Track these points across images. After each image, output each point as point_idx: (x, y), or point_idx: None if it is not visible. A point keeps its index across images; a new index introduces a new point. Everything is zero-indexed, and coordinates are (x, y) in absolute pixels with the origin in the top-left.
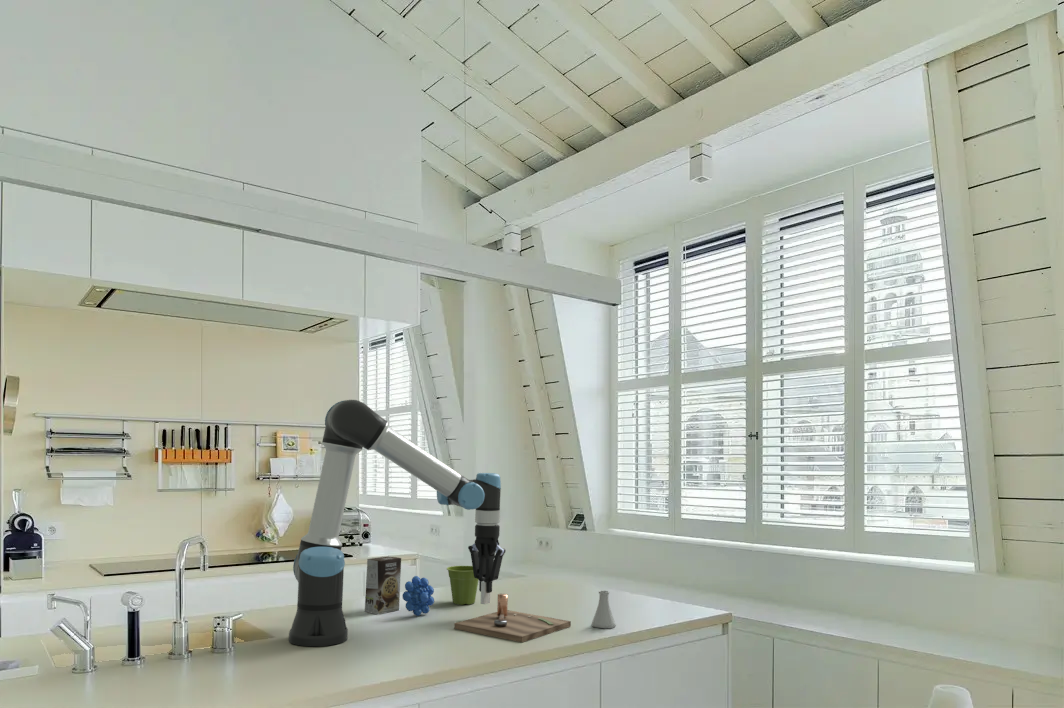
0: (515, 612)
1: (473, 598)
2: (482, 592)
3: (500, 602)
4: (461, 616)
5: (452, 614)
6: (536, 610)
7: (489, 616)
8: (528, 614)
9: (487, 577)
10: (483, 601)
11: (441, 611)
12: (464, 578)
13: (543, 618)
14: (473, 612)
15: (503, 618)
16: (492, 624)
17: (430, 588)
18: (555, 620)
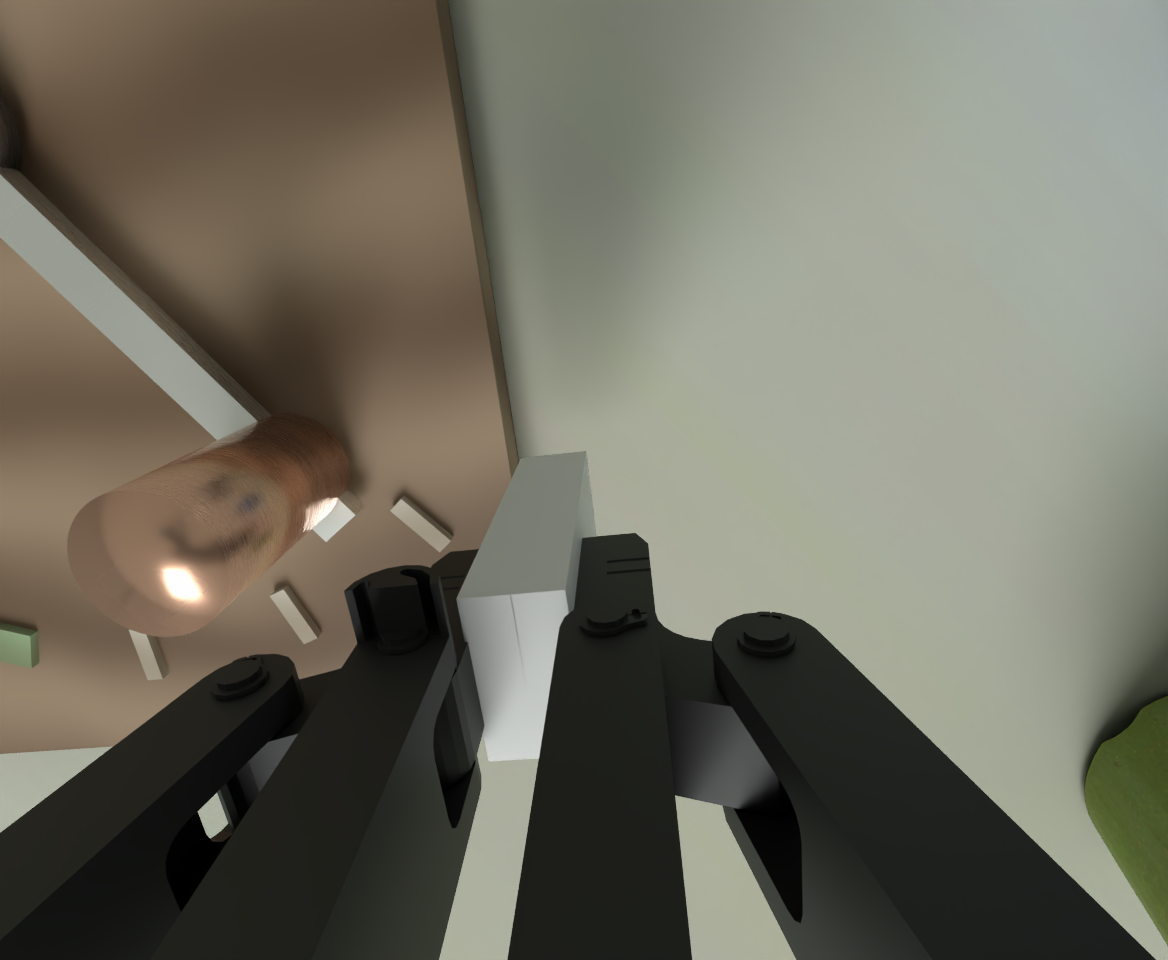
0: None
1: (1109, 828)
2: (545, 509)
3: (173, 461)
4: (814, 337)
5: (959, 332)
6: (497, 940)
7: (411, 387)
8: None
9: (364, 678)
10: (532, 465)
11: (1164, 346)
12: None
13: (51, 691)
14: (842, 557)
15: (89, 314)
16: (62, 107)
17: None
18: None
